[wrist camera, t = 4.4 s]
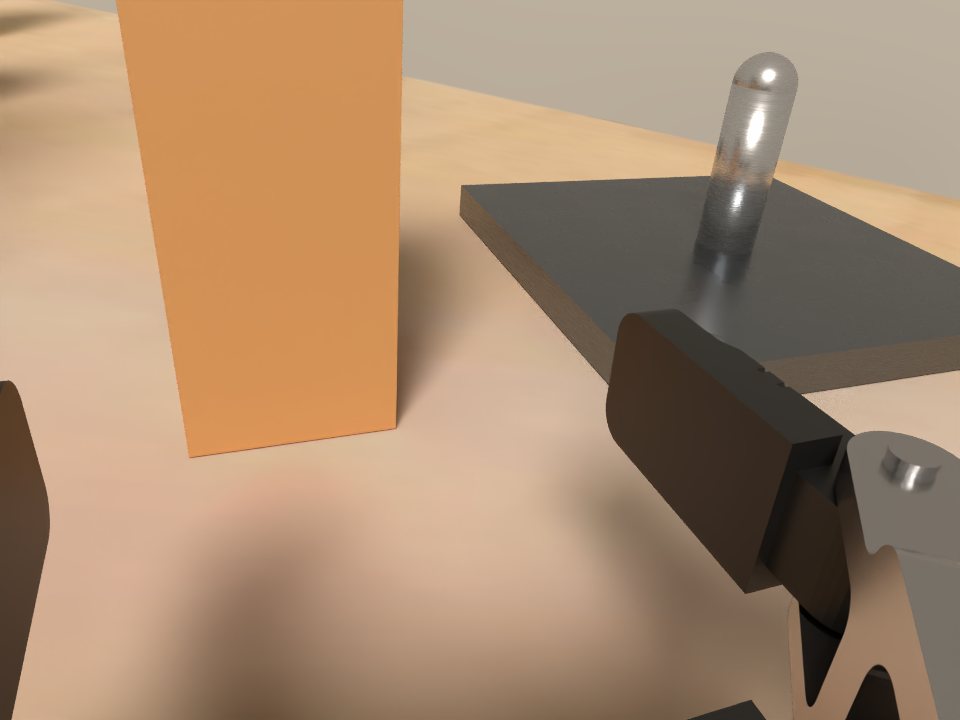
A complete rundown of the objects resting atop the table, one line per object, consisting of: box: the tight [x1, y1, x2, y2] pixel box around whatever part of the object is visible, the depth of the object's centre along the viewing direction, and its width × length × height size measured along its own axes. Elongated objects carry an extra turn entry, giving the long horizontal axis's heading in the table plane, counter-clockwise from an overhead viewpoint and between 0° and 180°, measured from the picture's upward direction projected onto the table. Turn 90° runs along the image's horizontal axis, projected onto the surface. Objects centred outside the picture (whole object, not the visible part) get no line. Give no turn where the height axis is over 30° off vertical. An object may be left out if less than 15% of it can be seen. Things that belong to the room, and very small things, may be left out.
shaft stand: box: [460, 52, 960, 394], centre depth 31 cm, size 18×18×9 cm
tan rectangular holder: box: [116, 0, 403, 457], centre depth 20 cm, size 6×6×12 cm
